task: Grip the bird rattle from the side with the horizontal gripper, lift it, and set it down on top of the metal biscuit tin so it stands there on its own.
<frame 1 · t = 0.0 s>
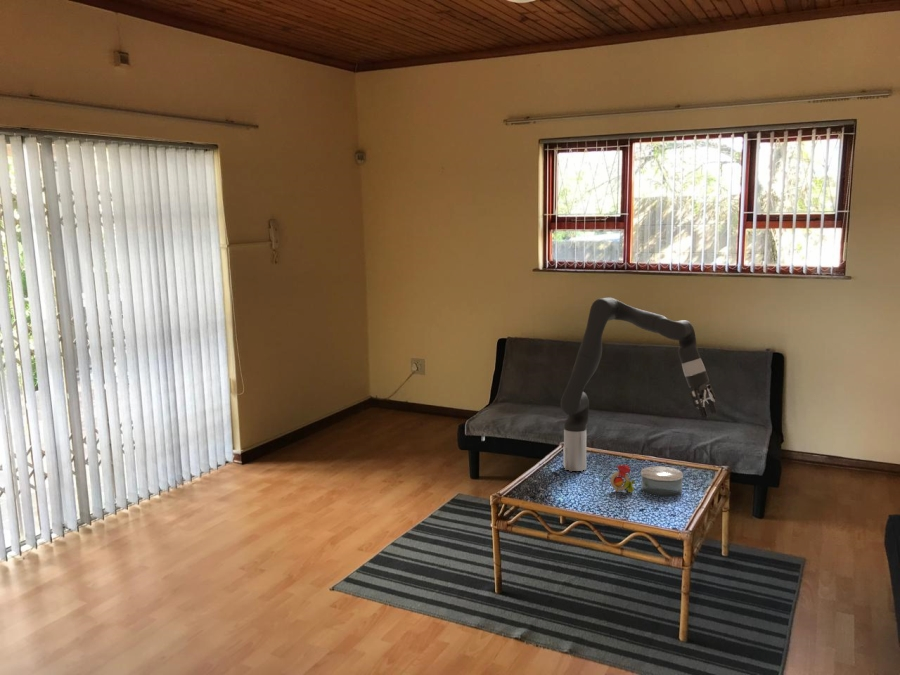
hand: (709, 415, 263), 31 cm above the table, tool tilted 20°, fingers open, 8 cm apart
biscuit tin: (661, 490, 277), on the table
bird rattle: (622, 492, 276), on the table
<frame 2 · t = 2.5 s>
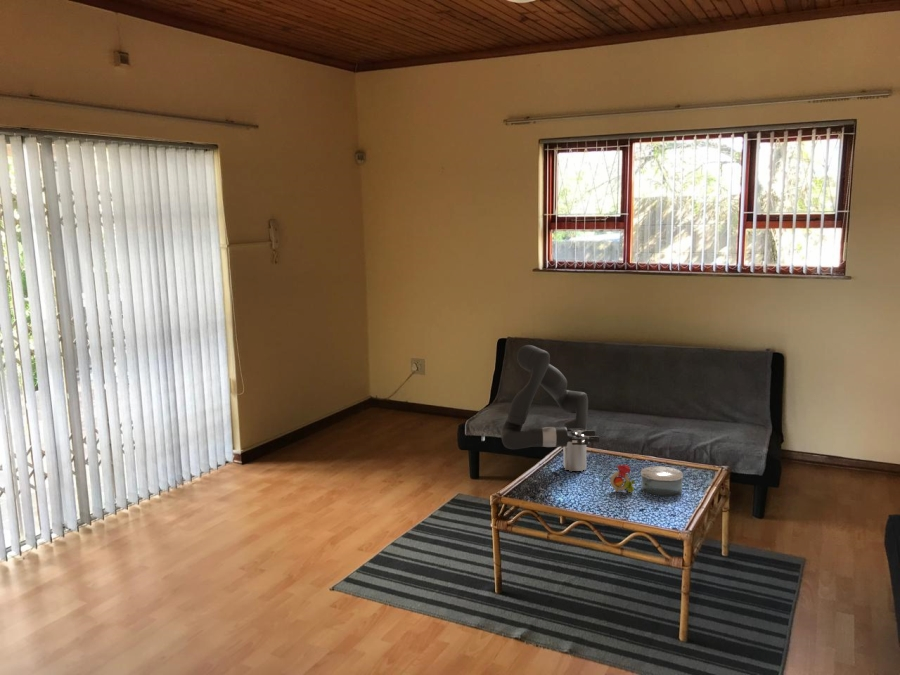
hand: (596, 436, 273), 22 cm above the table, tool horizontal, fingers open, 8 cm apart
nothing on the table moved.
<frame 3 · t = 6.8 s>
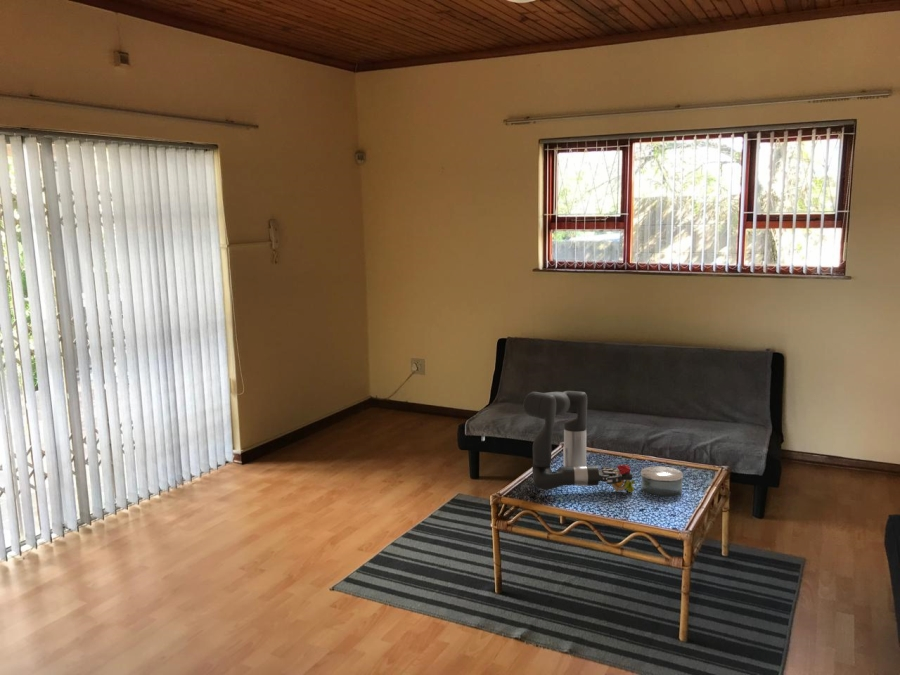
hand: (630, 474, 275), 7 cm above the table, tool horizontal, fingers open, 3 cm apart
bird rattle: (622, 492, 276), on the table, touching gripper
everything else where it was.
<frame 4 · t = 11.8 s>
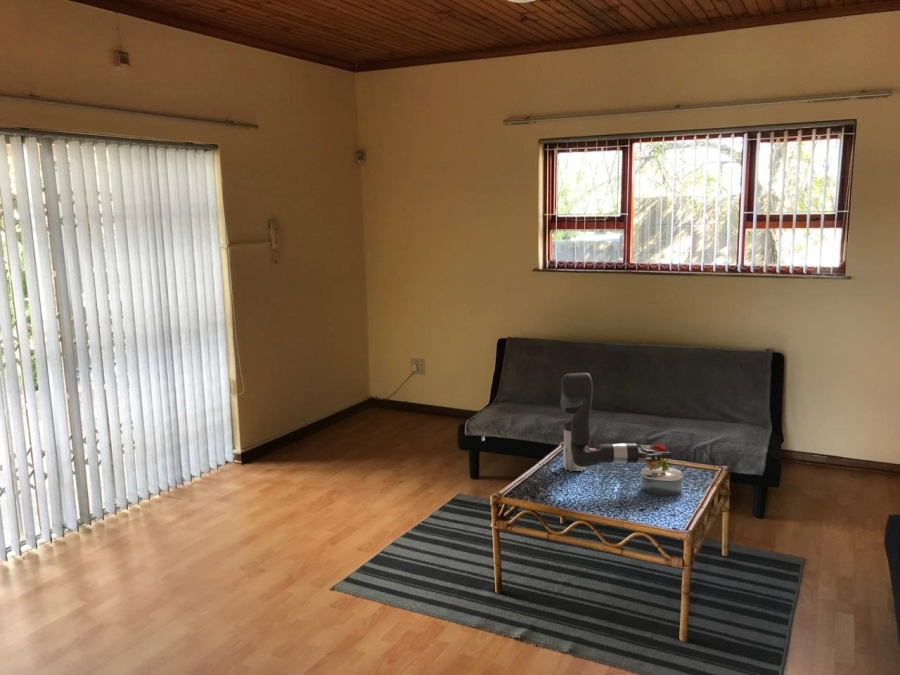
hand: (668, 452, 274), 15 cm above the table, tool horizontal, fingers open, 5 cm apart
bird rattle: (657, 470, 278), point 7 cm above the table, touching gripper
everything else where it was.
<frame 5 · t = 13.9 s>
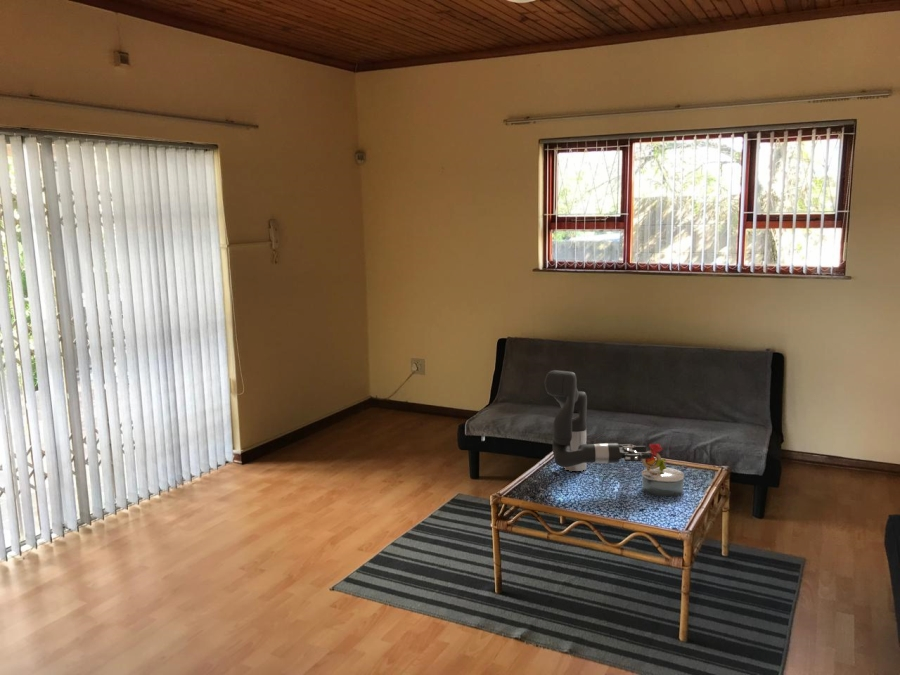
hand: (648, 452, 275), 15 cm above the table, tool horizontal, fingers open, 8 cm apart
biscuit tin: (662, 490, 276), on the table, touching bird rattle
bird rattle: (654, 470, 279), point 7 cm above the table, touching biscuit tin
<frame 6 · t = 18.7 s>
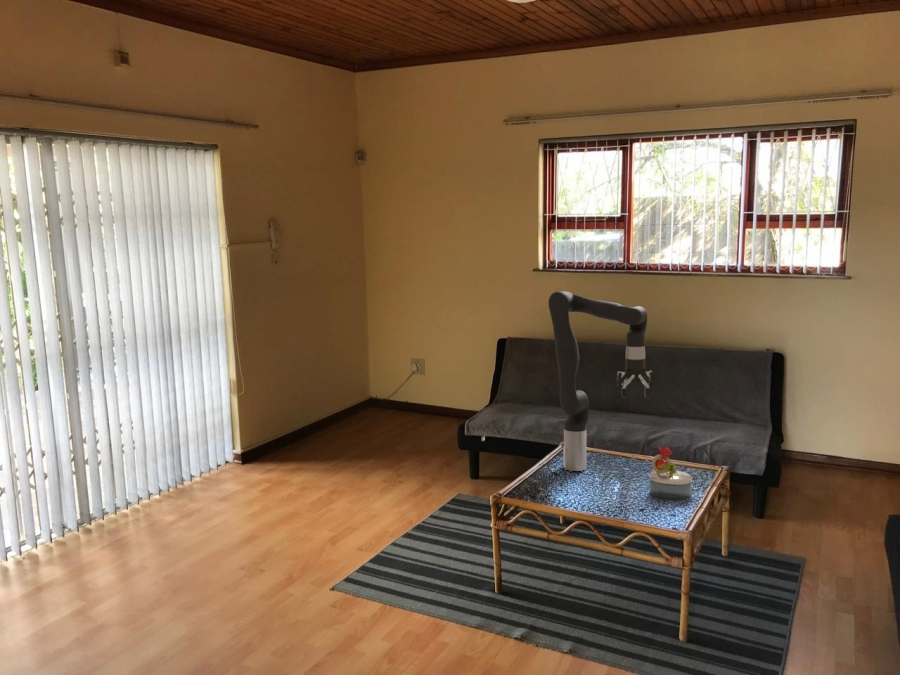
hand: (635, 397, 287), 33 cm above the table, tool pointing down, fingers open, 8 cm apart
biscuit tin: (670, 494, 273), on the table, touching bird rattle
bird rattle: (664, 474, 274), point 7 cm above the table, touching biscuit tin
at the end: bird rattle 2.8 cm from the biscuit tin (horizontally); bird rattle point 6.6 cm above the table; the gripper is holding nothing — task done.
